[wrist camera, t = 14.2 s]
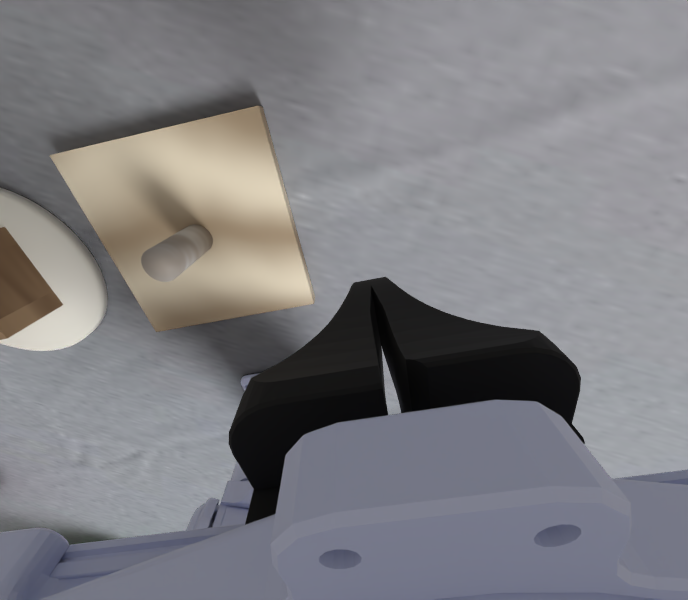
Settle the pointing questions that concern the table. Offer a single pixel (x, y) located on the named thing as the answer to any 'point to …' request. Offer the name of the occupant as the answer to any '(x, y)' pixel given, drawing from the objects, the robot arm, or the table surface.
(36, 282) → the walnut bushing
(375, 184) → the table surface
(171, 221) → the birch stand
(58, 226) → the cream plate
